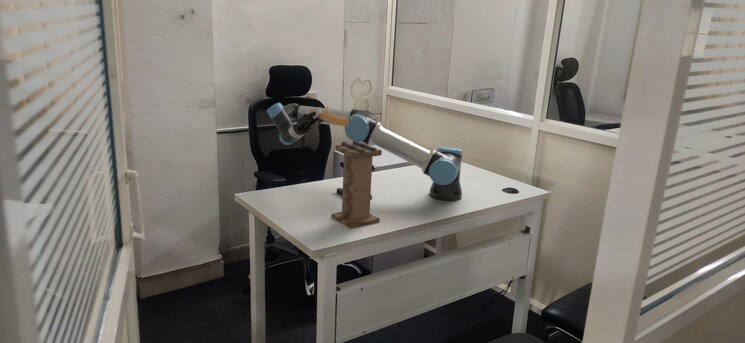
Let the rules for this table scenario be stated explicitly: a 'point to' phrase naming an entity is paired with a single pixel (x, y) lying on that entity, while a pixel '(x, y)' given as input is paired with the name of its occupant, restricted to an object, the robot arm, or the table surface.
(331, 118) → the wood grain block
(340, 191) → the disk drive
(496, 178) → the table surface
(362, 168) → the stand
